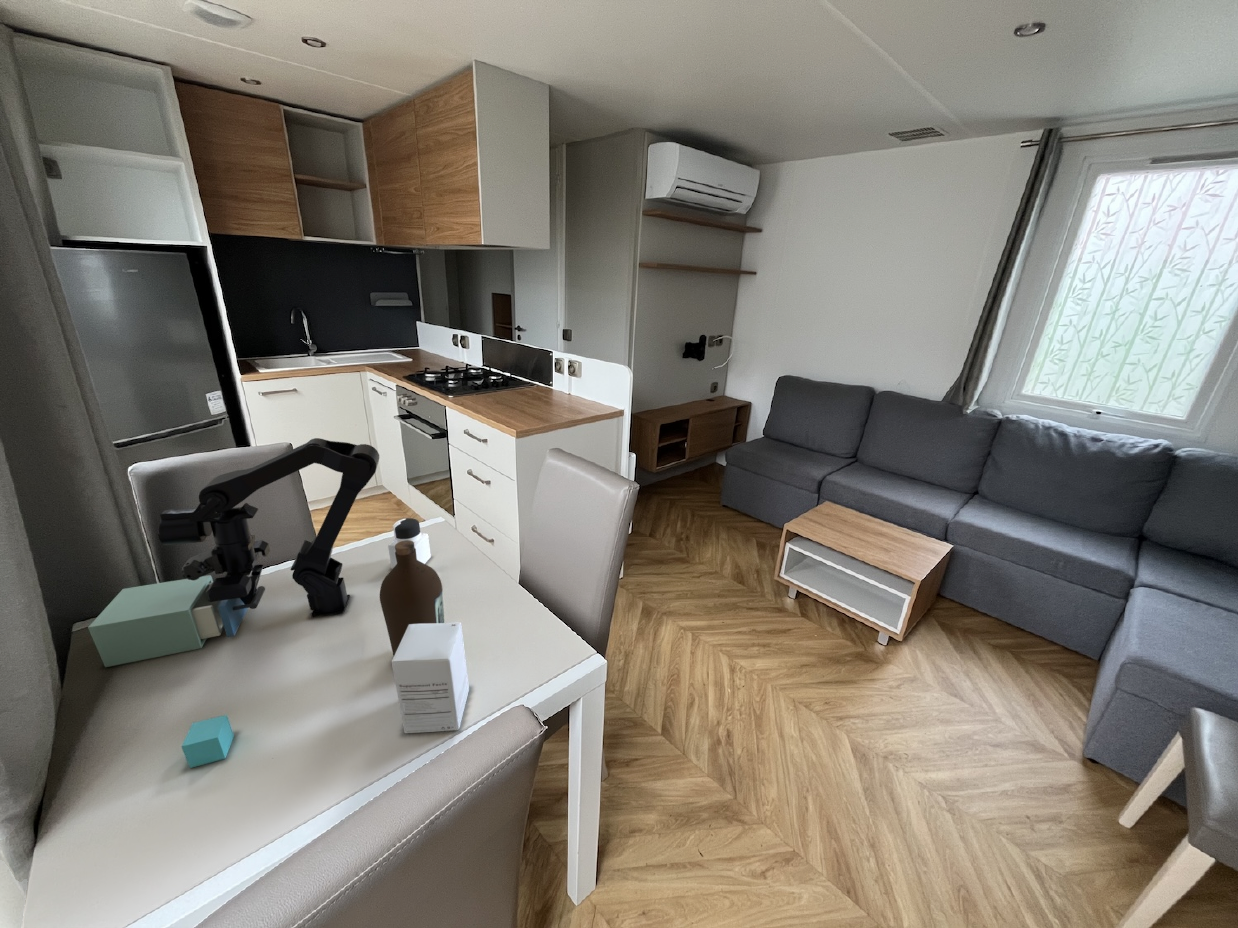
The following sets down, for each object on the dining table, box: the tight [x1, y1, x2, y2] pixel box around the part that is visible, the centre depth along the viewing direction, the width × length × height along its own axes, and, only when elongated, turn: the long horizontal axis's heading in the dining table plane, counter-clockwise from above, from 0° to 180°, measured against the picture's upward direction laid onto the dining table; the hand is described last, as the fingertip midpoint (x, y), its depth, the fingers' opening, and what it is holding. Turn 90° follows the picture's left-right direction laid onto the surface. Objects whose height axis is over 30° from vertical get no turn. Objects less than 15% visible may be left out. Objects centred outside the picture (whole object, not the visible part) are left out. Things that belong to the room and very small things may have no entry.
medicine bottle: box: [387, 517, 432, 570], centre depth 125 cm, size 7×7×12 cm
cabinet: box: [87, 574, 214, 668], centre depth 98 cm, size 15×13×9 cm
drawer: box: [191, 583, 266, 639], centre depth 101 cm, size 18×11×7 cm, turn 112°
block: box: [181, 714, 235, 769], centre depth 75 cm, size 4×4×4 cm
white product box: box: [391, 621, 470, 734], centre depth 81 cm, size 9×9×15 cm
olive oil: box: [379, 540, 445, 658], centre depth 91 cm, size 11×11×25 cm
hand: (248, 603), depth 103 cm, fingers closed, pressing on drawer
